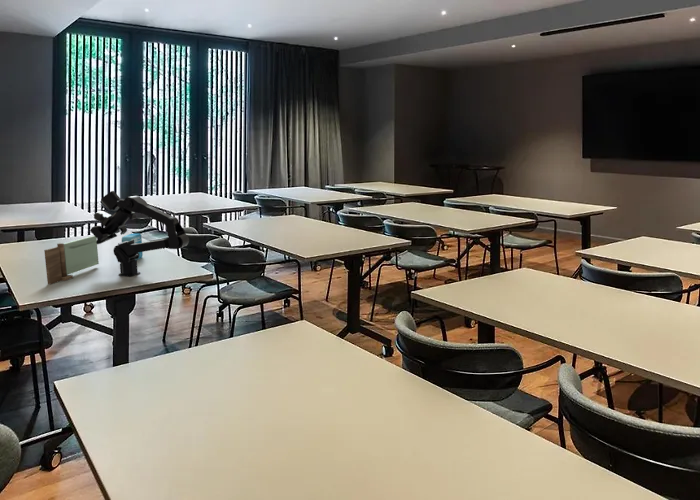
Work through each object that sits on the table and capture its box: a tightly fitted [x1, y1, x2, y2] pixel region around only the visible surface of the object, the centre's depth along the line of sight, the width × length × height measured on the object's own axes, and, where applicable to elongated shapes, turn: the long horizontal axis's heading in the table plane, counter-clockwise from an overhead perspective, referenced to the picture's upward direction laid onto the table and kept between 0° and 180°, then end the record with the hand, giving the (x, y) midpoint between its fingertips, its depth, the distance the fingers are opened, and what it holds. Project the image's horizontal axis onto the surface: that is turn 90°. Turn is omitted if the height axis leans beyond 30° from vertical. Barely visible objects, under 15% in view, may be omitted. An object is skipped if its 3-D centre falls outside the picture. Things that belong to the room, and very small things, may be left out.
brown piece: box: [44, 242, 74, 285], centre depth 233 cm, size 5×11×15 cm, turn 169°
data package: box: [121, 233, 144, 260], centre depth 275 cm, size 12×4×12 cm, turn 176°
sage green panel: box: [64, 235, 100, 275], centre depth 248 cm, size 3×22×13 cm, turn 169°
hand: (97, 243), depth 246 cm, fingers closed
